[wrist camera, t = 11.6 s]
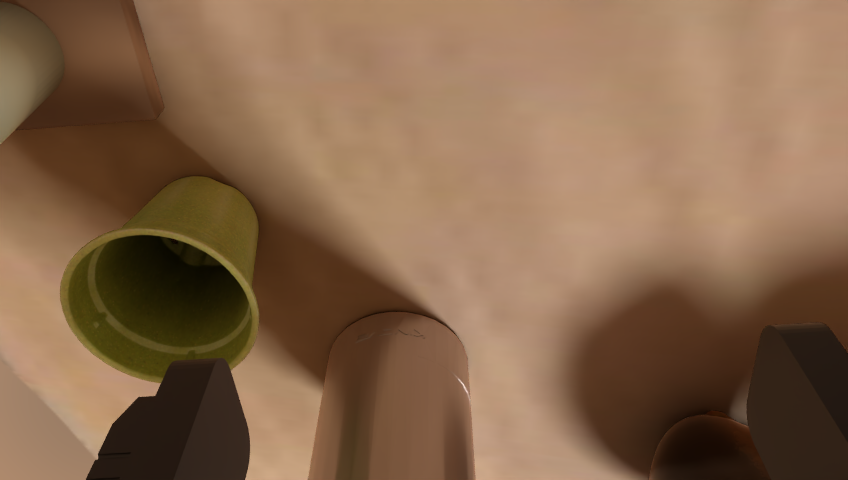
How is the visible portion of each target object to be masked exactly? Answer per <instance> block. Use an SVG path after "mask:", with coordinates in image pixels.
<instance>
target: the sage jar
mask: <svg viewBox="0 0 848 480" xmlns="http://www.w3.org/2000/svg"><path fill="white" fill-rule="evenodd" d="M64 68H65V65H64V56H63V52H62V49H61V47H60V45H59V42H58V40H57V39H56V37H55V35H54V34H53V33H52V31H51V30H50V29H49V28H48V27H47V26H46V24H45V23H44V22H42V21H41V20H40V19H39V18H38V17H36V16H35V15H34V14H32V13H31V12H29V11H27V10H26V9H24V8H21V7H19V6H17V5H14V4H11V3H7V2H1V1H0V144H1V143H2V142H3V141H4V140H5V139H6V138H7V137H8V136H9V135H10V134H11V133H12V132H13V131H14V130H15V129H16V128H17V127H18V126H19V125H20V124H21V123H22V122H23V121H24V120H25V119H27V118H28V117H29V116H30V115H31V114H32V113H33V112H34V111H35V110H36V109H37V108H38V107H39V106H40V105H41V104H42V103H43V102H44V101H45V100H46V99H47V98H48V97H49V96H50V95H51V94H52V93H53V92H54V91H55V90H56V89H57V87H58V86H59V85H60V83H61V81H62V78H63V75H64Z"/></svg>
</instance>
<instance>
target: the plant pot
mask: <svg viewBox="0 0 848 480" xmlns="http://www.w3.org/2000/svg"><path fill="white" fill-rule="evenodd" d="M258 235H259V225H258V220H257V216H256V213H255V211H254V209H253V207H252V205H251V204H250V202H249V201H248V200H247V199H246V197H245V196H244V195H243V194H242V193H241V192H239V191H238V190H237V189H235V188H234V187H231V186H228V185H225V184H222V183H220V182H218V181H215V180H213V179H211V178H209V177H203V176H191V177H185V178H181V179H178V180H176V181H173V182H172V183H170V184H168V185H167V186H166V187H164V188H163V189H162V190H161V191H160V192H159V193H158V194H157V195H156V196H154V197H153V199H152V200H150V201H149V202H148V203H147V204H146V205H145V206H144V207H143V208H142V209H141V210H140V211H139V212H138V213H137V214H136V215H135V216H134V217H133V218H132V219H130V220H129V221H128V222H127V223H126V224H125V225H124V226H123V227H122V228H120V229H117V230H113V231H110V232H107V233H105V234H103V235H101V236H99V237H97V238H95V239H93V240H92V241H90V242H89V243H88V244H86V245H85V246H83V247H82V248H81V249H80V250H79V251H78V252H77V253H76V254H75V255H74V257H73V258H72V259H71V260H70V262H69V264H68V265H67V267H66V269H65V271H64V274H63V277H62V280H61V286H60V301H61V305H62V309H63V313H64V315H65V318H66V321H67V323H68V325H69V327H70V328H71V330H72V331H73V333H74V334H75V336H76V337H77V338H78V340H79V341H80V342H81V343H82V344H83V345H84V346H85V347H86V348H87V349H88V350H89V351H90V352H91V353H92V354H93V355H95V356H96V357H98V358H99V359H100V360H102V361H103V362H105V363H106V364H108V365H110V366H111V367H113V368H115V369H117V370H119V371H121V372H123V373H126V374H128V375H130V376H133V377H136V378H139V379H142V380H146V381H151V382H156V383H161V382H162V380H163V378H164V375H165V373H166V371H167V369H168V367H169V365H170V364H171V363H172V362H173V361H176V360H192V359H208V358H224V359H225V360H226V361H227V363H228V365H229V367H230V370H232V369H233V368H234V367H236V366H237V365H238V364H239V363H240V362H241V361H243V360H244V359H245V357H246V356H247V355H248V353H249V352H250V350H251V349H252V347H253V345H254V342H255V340H256V337H257V333H258V328H259V308H258V304H257V300H256V297H255V294H254V292H253V288H252V282H253V273H254V265H255V257H256V250H257V242H258ZM170 238H172V239H176V241H177V242H178V244H175V243H173V242H172V241H171V240H170Z"/></svg>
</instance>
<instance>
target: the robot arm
mask: <svg viewBox="0 0 848 480" xmlns="http://www.w3.org/2000/svg"><path fill="white" fill-rule="evenodd" d="M747 420H748V426H749V430H750V434H751V437H752V440H753V442H754V445H755V447H756V449H757V451H758V453H759V455H760V457H761V459H762V461H763V463H764V466H765V468H766V470H767V472H768V474H769V476H770V478H771V480H848V353H847V352H846V350H845V349H844V348H843V346H842V345H841V343H840V342H839V341H838V339H837V338H836V336H835V335H834V334H833V332H832V331H831V330H830V328H829V327H828V326H826V325H825V324H823V323H820V322H816V323H800V324H784V325H769V326H766V327H765V328H764V329H763V331H762V333H761V337H760V341H759V346H758V351H757V355H756V360H755V365H754V370H753V374H752V379H751V384H750V389H749V393H748V398H747ZM249 457H250V438H249V431H248V426H247V423H246V419H245V416H244V413H243V410H242V406H241V403H240V400H239V397H238V393H237V390H236V387H235V384H234V380H233V377H232V374H231V370H230V367H229V365H228V363H227V361H226V360H225V359H224V358H208V359H192V360H176V361H173V362H172V363H171V364H170V365H169V367H168V369H167V371H166V373H165V375H164V378H163V380H162V382H161V385H160V387H159V389H158V391H157V394H156V396H149V397H138V398H137V399H136V400H135V401H134V402H133V403H132V404H131V405H130V407H129V408H128V409H127V410H126V411H125V412H124V413H123V414H122V415H121V416H120V417H119V418H118V419H117V420H116V421H115V422H114V423H113V424H112V426H111V428H110V430H109V432H108V434H107V436H106V439H105V441H104V443H103V445H102V447H101V449H100V451H99V453H98V460H95V461H94V464H93V466H92V468H91V470H90V472H89V474H88V476H87V478H86V480H245V478H246V474H247V470H248V465H249ZM308 480H476V479H475V464H474V449H473V433H472V418H471V400H470V386H469V372H468V358H467V355H466V352H465V349H464V346H463V345H462V343H461V342H460V340H459V339H458V337H457V336H456V335H455V334H454V333H453V332H452V331H450V330H449V329H448V328H447V327H446V326H444V325H442V324H441V323H439V322H437V321H436V320H433V319H431V318H428V317H425V316H423V315H419V314H413V313H408V312H386V313H380V314H374V315H371V316H368V317H365V318H362V319H360V320H359V321H357V322H355V323H353V324H351V325H350V326H349V327H347V328H346V329H345V330H344V331H343V332H342V333H341V334H340V335H339V336H338V338H337V339H336V341H335V342H334V343H333V346H332V348H331V351H330V354H329V359H328V365H327V371H326V377H325V383H324V389H323V395H322V399H321V405H320V411H319V417H318V423H317V429H316V435H315V441H314V447H313V453H312V458H311V464H310V470H309V476H308Z"/></svg>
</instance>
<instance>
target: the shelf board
mask: <svg viewBox="0 0 848 480" xmlns="http://www.w3.org/2000/svg"><path fill="white" fill-rule="evenodd" d="M0 1H1V2H7V3H11V4H14V5H17V6H19V7H21V8H24V9H26V10H27V11H29V12H31V13H32V14H34V15H35V16H36V17H38V18H39V19H40V20H41V21H42V22H44V23H45V24H46V26H47V27H48V28H49V29H50V30H51V31H52V33H53V34H54V35H55V37H56V39H57V40H58V42H59V45H60V47H61V49H62V52H63V56H64V65H65V68H64V75H63V78H62V81H61V83H60V85H59V86H58V87H57V89H56V90H55V91H54V92H53V93H52V94H51V95H50V96H49V97H48V98H47V99H46V100H45V101H44V102H43V103H42V104H41V105H40V106H39V107H38V108H37V109H36V110H35V111H34V112H33V113H32V114H31V115H30V116H29V117H28V118H27V119H25V120H24V121H23V122H22V123H21V124H20V125H19V126H18V127H17V128H16V129H15V130H24V129H37V128H50V127H63V126H76V125H89V124H103V123H116V122H129V121H142V120H155V119H156V118H157V117H158V116H159V114H160V113H161V112H162V111H163V109H164V105H163V101H162V98H161V94H160V91H159V88H158V84H157V81H156V77H155V74H154V71H153V67H152V64H151V60H150V57H149V53H148V50H147V47H146V43H145V40H144V36H143V33H142V30H141V26H140V23H139V19H138V16H137V13H136V9H135V6H134V2H133V0H0Z"/></svg>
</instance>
